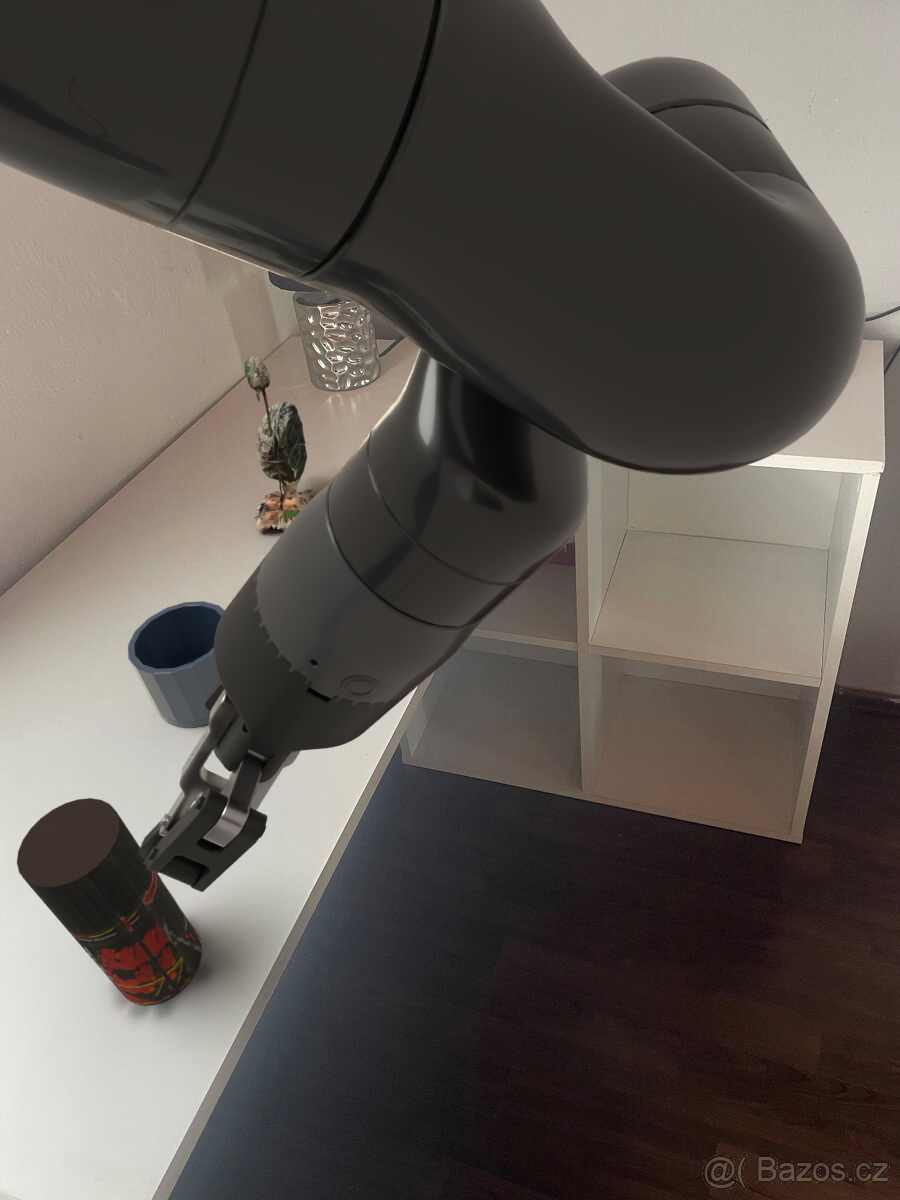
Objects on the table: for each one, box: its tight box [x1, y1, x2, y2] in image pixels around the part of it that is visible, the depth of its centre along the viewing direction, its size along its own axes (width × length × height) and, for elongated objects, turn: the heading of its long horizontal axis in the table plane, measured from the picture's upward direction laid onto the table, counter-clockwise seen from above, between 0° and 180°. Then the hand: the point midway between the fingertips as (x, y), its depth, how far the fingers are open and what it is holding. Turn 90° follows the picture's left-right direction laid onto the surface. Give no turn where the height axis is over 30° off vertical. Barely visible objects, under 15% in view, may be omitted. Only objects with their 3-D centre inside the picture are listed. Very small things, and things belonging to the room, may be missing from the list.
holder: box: [127, 600, 225, 729], centre depth 78 cm, size 9×9×7 cm
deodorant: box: [16, 797, 203, 1006], centre depth 55 cm, size 6×6×15 cm
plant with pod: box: [244, 356, 318, 532], centre depth 94 cm, size 8×11×20 cm
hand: (193, 779), depth 43 cm, fingers open, 8 cm apart
